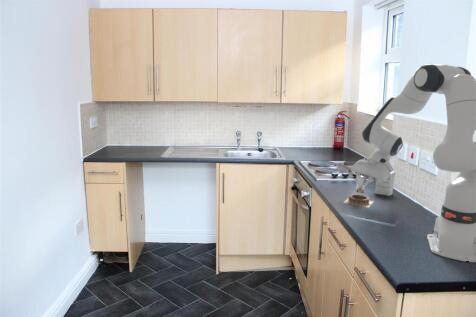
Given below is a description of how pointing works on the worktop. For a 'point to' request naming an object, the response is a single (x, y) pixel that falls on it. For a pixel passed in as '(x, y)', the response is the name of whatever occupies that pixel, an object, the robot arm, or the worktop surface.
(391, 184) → the supplement box
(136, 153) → the worktop surface
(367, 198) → the brown cake on plate
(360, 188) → the peg
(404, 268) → the worktop surface
